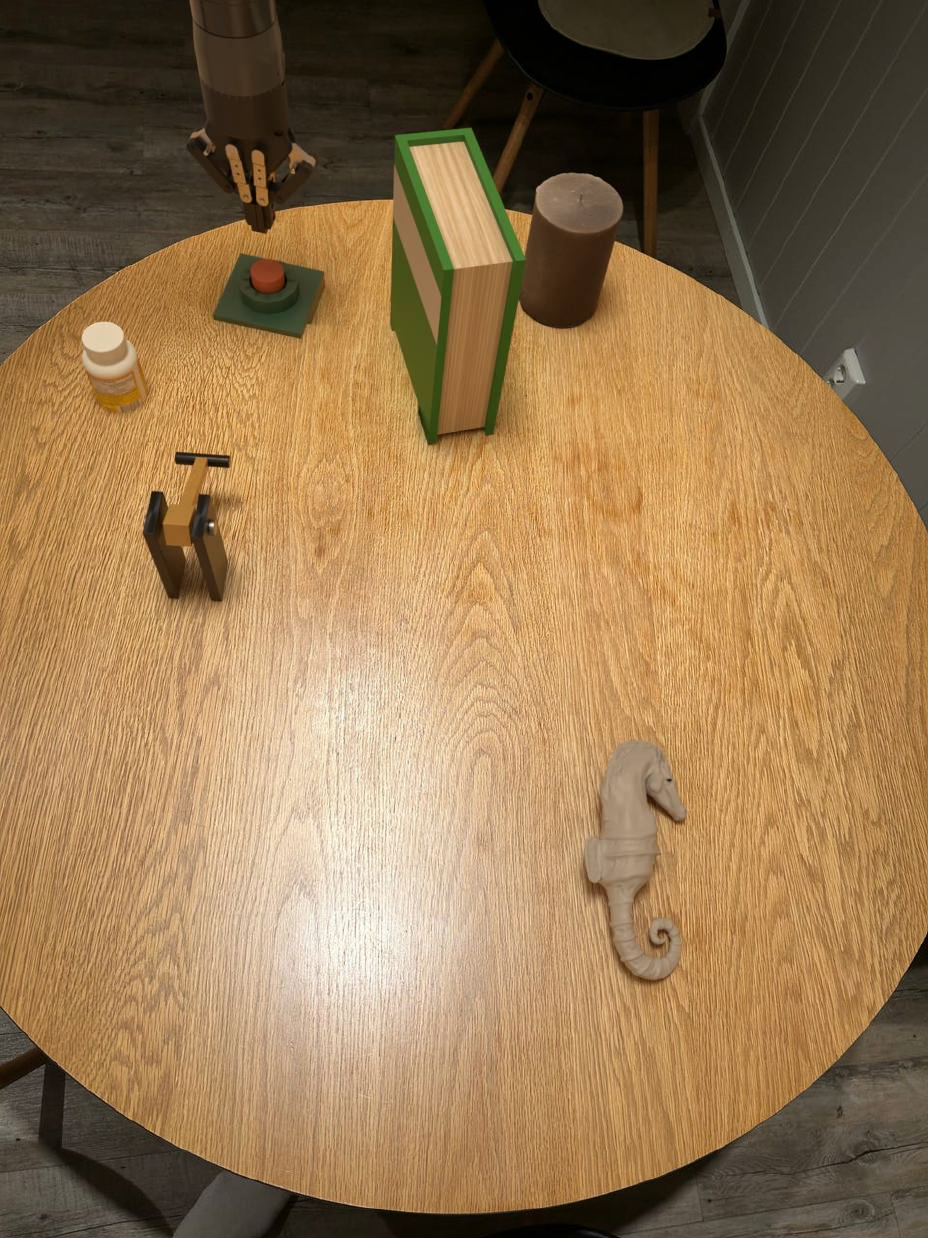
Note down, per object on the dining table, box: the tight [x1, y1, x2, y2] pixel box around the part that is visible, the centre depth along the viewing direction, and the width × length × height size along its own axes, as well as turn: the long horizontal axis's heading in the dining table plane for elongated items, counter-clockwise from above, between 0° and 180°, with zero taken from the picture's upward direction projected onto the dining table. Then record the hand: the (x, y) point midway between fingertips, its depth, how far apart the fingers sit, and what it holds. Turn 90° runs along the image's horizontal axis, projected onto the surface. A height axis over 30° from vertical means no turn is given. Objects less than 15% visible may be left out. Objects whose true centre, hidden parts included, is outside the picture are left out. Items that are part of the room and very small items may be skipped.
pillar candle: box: [518, 172, 624, 329], centre depth 106 cm, size 10×10×15 cm
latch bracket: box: [142, 490, 229, 602], centre depth 85 cm, size 10×8×13 cm
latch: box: [163, 451, 232, 548], centre depth 84 cm, size 12×5×2 cm, turn 179°
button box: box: [212, 252, 326, 339], centre depth 106 cm, size 10×10×4 cm
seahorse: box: [583, 739, 688, 981], centre depth 81 cm, size 5×12×20 cm
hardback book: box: [389, 127, 526, 446], centre depth 95 cm, size 18×7×24 cm, turn 16°
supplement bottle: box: [81, 321, 149, 414], centre depth 96 cm, size 5×5×10 cm
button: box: [251, 258, 285, 294], centre depth 104 cm, size 4×4×2 cm
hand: (262, 227), depth 98 cm, fingers closed
